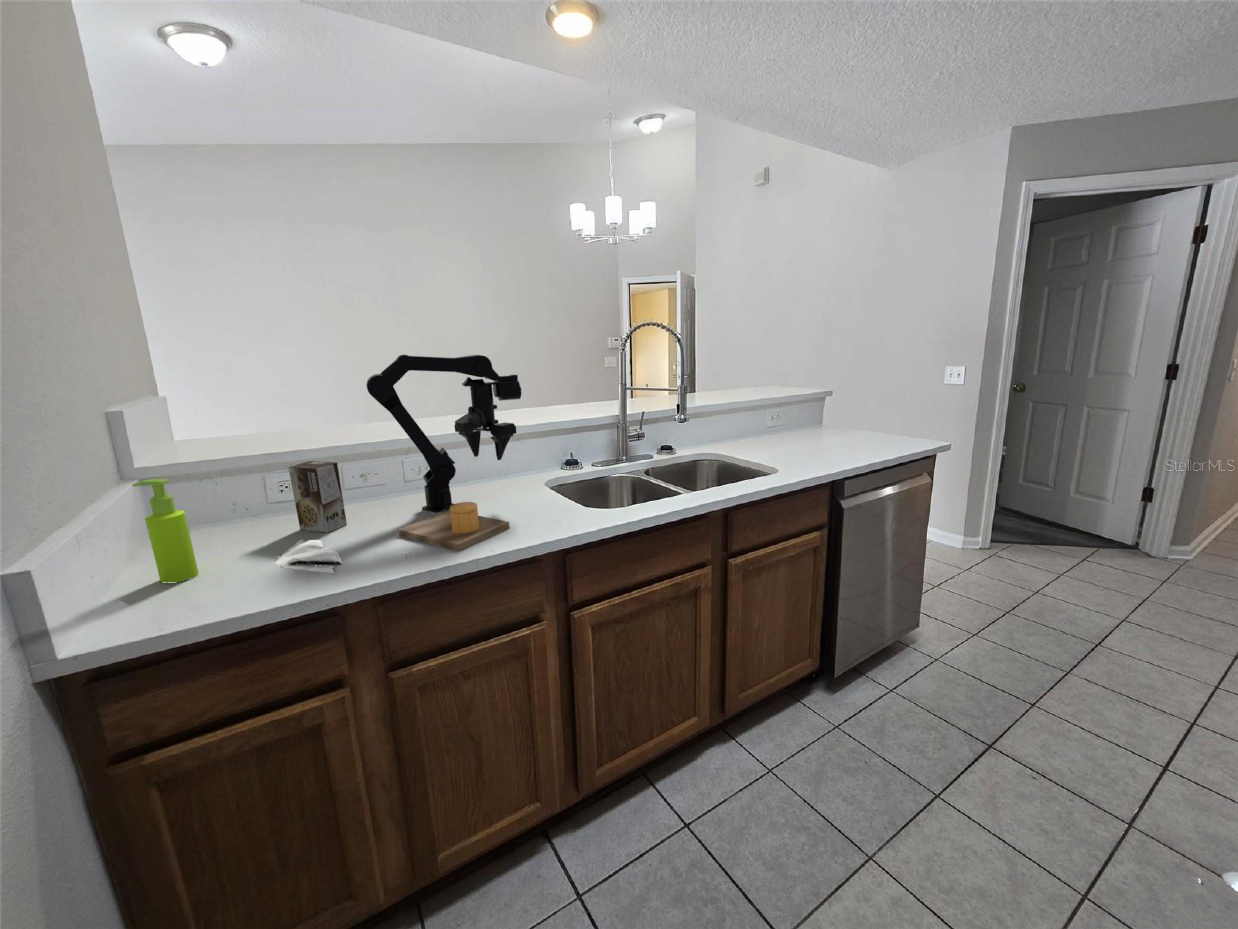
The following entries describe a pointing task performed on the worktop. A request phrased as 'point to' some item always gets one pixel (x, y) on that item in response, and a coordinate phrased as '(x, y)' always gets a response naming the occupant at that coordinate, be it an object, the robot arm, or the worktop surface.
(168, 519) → the soap dispenser
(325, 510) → the coffee box
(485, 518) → the wooden board
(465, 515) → the cap
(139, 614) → the worktop surface
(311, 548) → the cloth
